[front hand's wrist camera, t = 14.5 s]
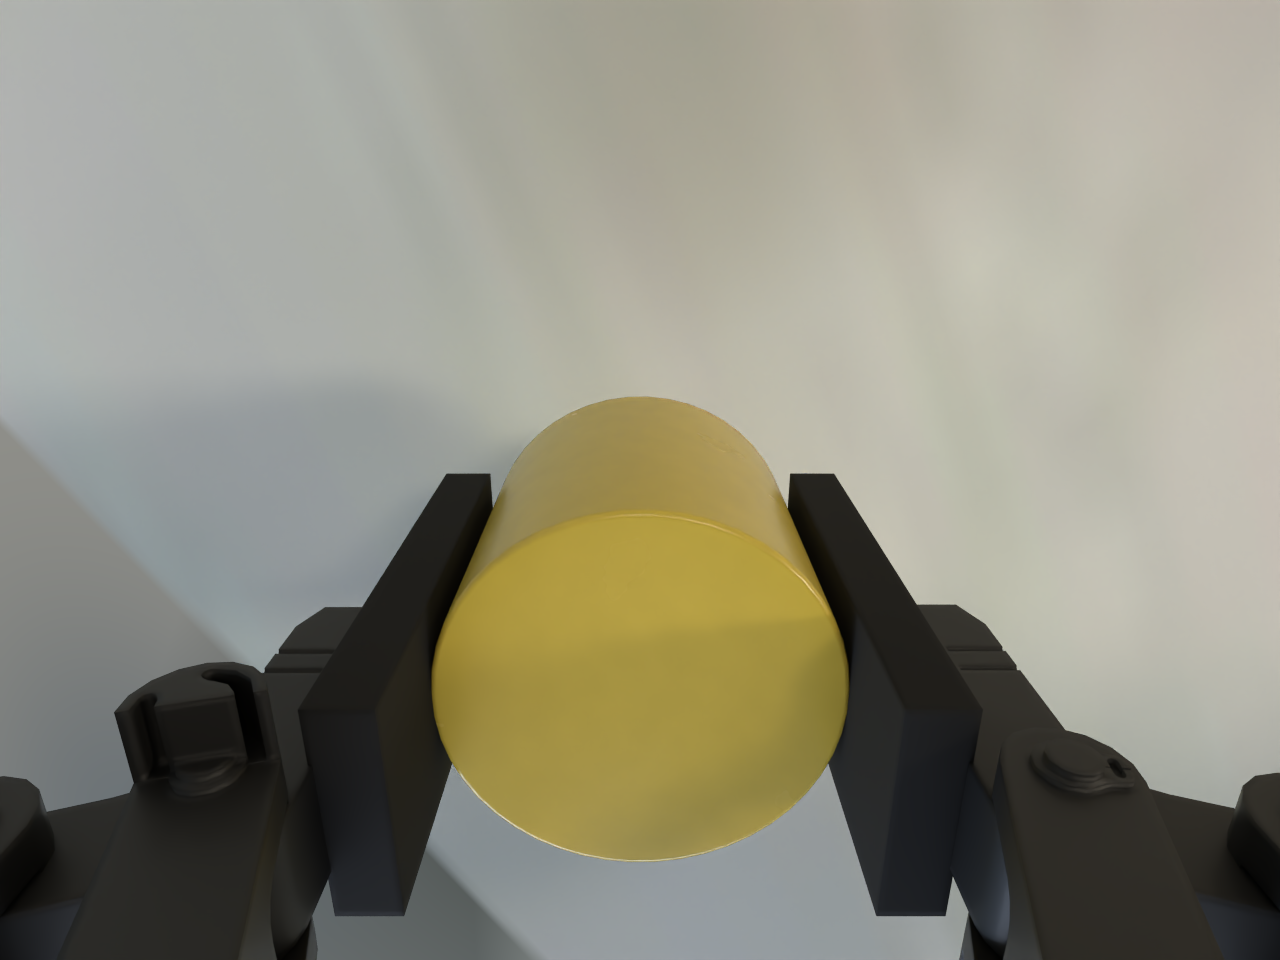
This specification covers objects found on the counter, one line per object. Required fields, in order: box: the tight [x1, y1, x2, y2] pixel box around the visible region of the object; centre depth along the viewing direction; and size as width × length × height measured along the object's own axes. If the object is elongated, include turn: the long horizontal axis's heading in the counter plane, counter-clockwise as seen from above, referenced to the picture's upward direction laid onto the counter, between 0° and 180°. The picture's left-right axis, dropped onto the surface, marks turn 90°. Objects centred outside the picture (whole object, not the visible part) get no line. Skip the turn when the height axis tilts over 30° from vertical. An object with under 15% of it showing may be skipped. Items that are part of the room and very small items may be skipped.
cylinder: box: [431, 397, 849, 862], centre depth 12 cm, size 5×5×5 cm
